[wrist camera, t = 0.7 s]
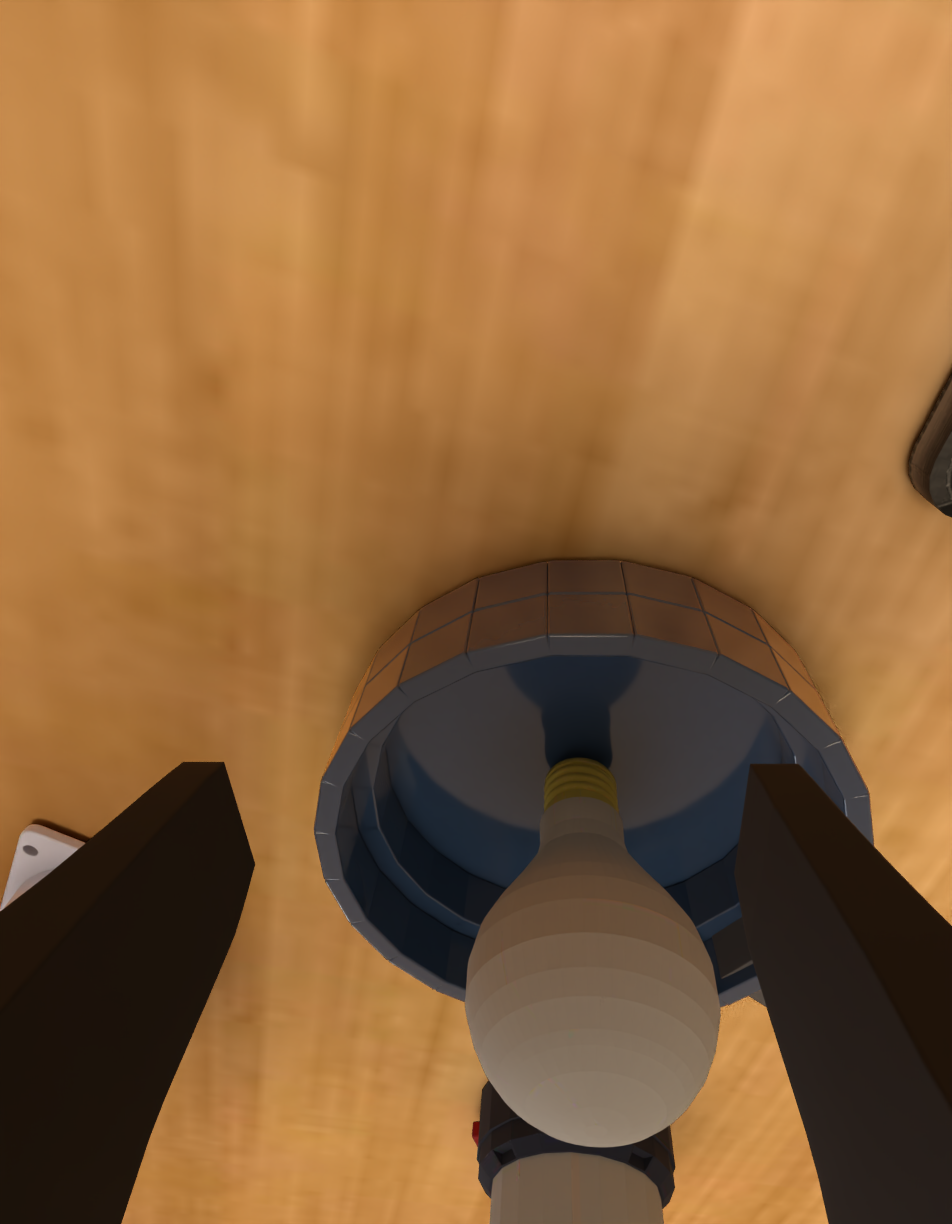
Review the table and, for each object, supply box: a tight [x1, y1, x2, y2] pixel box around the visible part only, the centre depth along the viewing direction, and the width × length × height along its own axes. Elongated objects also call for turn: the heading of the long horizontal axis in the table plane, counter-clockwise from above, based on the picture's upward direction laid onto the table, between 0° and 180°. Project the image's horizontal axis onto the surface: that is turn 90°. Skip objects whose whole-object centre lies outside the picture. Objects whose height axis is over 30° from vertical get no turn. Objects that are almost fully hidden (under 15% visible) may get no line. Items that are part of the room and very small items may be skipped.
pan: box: [314, 560, 874, 1007], centre depth 21 cm, size 14×14×4 cm
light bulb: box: [465, 757, 721, 1147], centre depth 18 cm, size 6×5×10 cm
